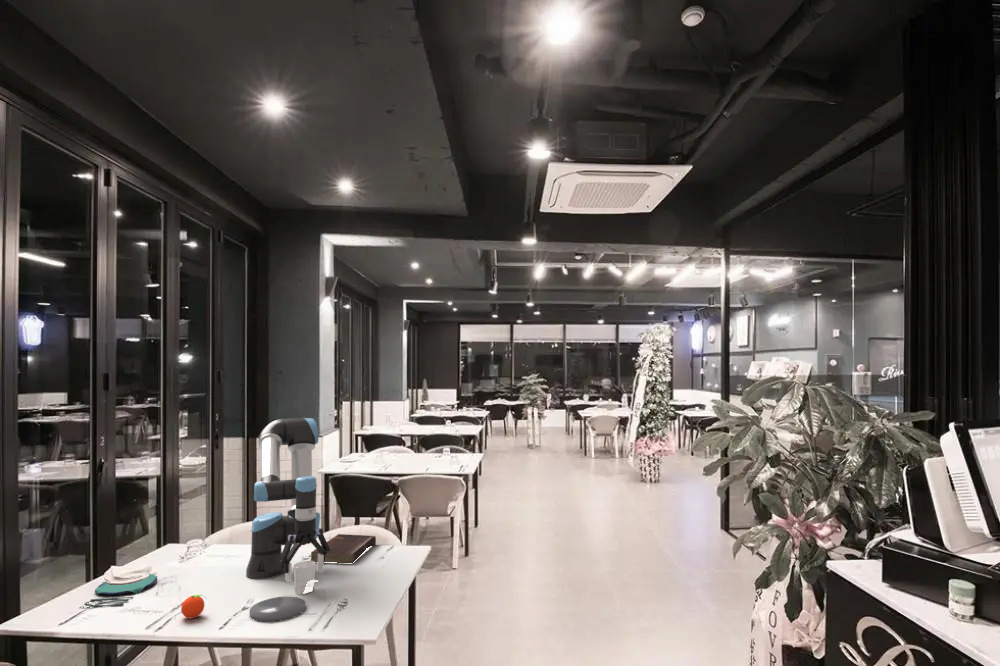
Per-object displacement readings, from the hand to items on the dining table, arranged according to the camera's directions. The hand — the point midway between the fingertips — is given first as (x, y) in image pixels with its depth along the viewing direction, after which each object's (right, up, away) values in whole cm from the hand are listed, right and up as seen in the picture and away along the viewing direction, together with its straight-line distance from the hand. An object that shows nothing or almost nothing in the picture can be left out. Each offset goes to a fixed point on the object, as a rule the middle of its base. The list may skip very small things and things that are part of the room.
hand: (304, 576), depth 218 cm
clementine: (-30, -4, -22) cm, 37 cm away
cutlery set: (-70, -7, +1) cm, 70 cm away
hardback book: (+3, -10, +46) cm, 47 cm away
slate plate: (-3, -4, -18) cm, 19 cm away
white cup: (0, -6, 0) cm, 6 cm away
